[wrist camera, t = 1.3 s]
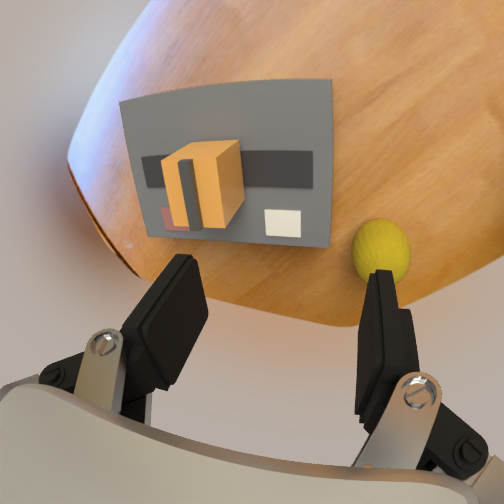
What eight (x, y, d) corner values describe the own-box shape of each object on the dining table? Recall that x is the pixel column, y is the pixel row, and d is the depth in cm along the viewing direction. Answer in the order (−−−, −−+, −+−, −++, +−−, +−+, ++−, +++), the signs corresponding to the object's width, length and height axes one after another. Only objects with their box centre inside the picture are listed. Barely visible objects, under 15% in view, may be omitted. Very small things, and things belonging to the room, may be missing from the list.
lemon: (357, 199, 28) (362, 243, 22) (409, 212, 27) (428, 258, 21) (345, 247, 31) (344, 298, 25) (393, 257, 30) (403, 309, 24)
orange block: (239, 139, 22) (212, 160, 18) (244, 199, 25) (222, 232, 20) (191, 142, 23) (156, 163, 19) (200, 198, 26) (170, 230, 21)
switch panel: (331, 79, 22) (331, 79, 18) (331, 221, 30) (329, 249, 26) (148, 94, 27) (117, 102, 23) (170, 214, 35) (147, 237, 30)
